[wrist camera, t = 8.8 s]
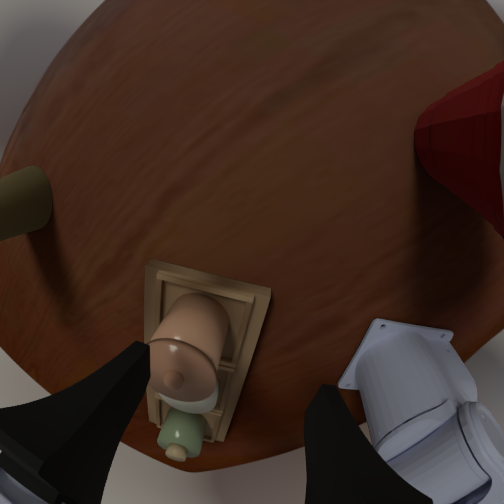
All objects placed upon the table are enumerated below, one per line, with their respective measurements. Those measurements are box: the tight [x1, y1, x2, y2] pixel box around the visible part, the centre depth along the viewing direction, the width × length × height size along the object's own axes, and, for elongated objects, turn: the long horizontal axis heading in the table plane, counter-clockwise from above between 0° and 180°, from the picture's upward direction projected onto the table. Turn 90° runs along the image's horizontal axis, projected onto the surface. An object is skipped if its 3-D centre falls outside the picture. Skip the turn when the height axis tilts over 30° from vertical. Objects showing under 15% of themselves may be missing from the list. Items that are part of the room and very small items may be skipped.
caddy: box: [144, 259, 271, 443], centre depth 23 cm, size 9×21×2 cm, turn 167°
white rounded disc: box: [158, 379, 220, 414], centre depth 22 cm, size 5×5×2 cm
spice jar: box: [146, 293, 230, 402], centre depth 17 cm, size 5×5×7 cm
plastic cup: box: [414, 61, 504, 239], centre depth 9 cm, size 11×11×12 cm
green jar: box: [157, 407, 207, 461], centre depth 23 cm, size 4×4×5 cm
